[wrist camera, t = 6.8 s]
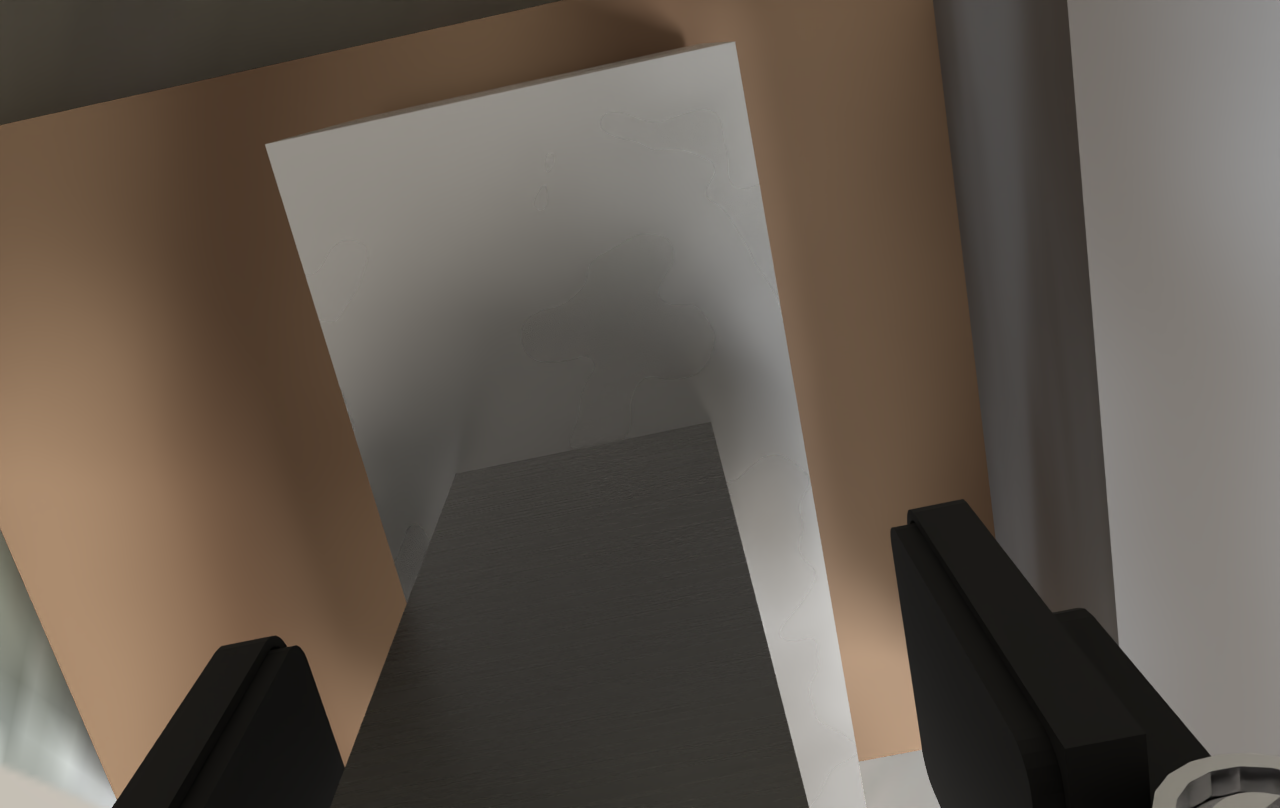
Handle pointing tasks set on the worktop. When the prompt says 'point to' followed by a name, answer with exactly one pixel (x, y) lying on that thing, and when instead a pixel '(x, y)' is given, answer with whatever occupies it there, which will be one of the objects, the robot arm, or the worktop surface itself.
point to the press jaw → (577, 447)
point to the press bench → (812, 316)
